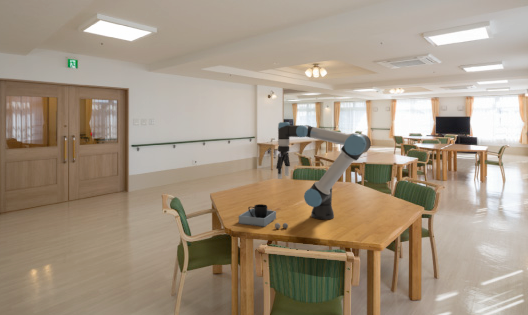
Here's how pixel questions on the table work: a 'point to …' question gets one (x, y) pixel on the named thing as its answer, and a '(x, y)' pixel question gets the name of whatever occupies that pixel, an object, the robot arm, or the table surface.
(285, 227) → the pebble
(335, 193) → the table surface
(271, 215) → the bin
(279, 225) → the pebble
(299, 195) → the table surface
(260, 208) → the mug
